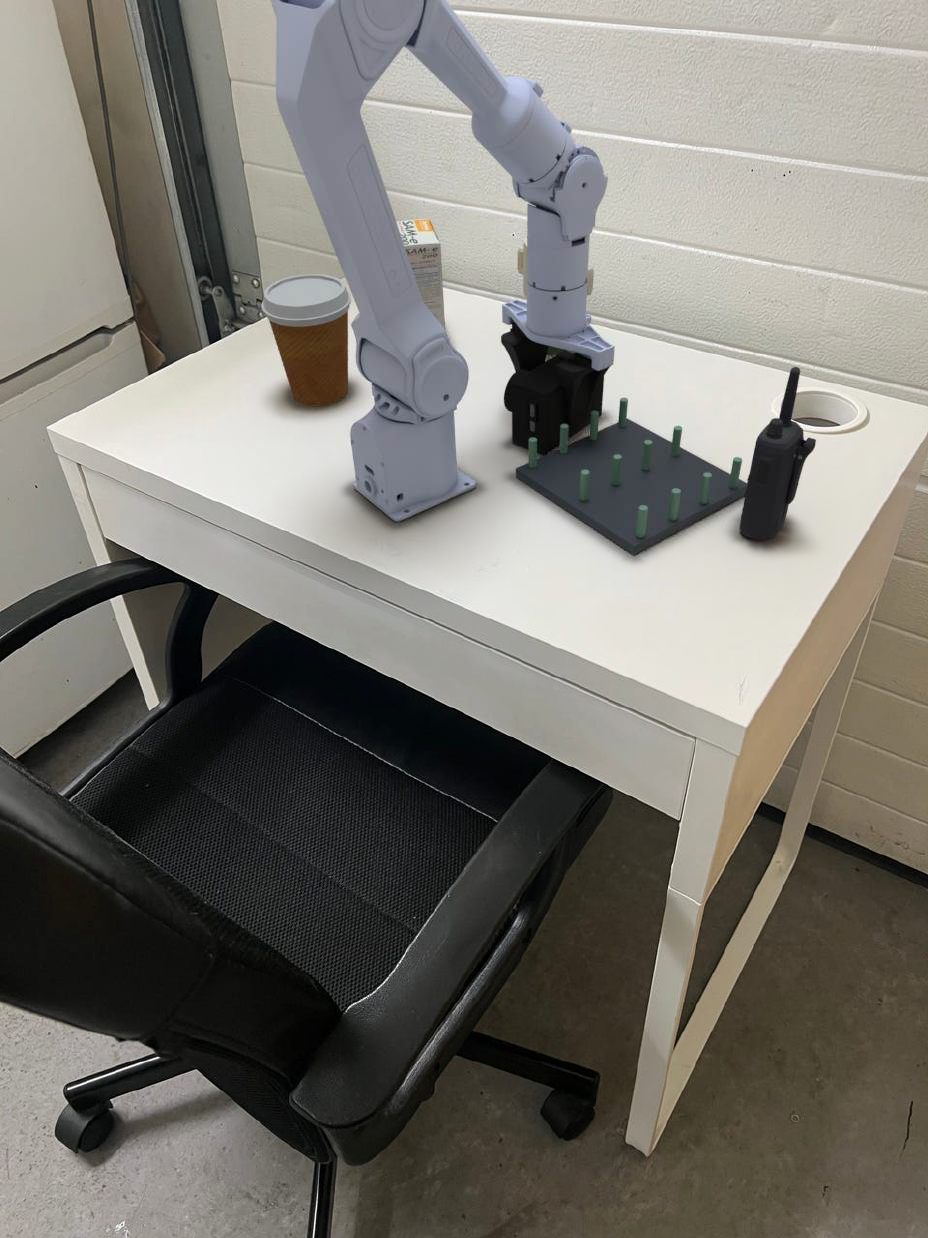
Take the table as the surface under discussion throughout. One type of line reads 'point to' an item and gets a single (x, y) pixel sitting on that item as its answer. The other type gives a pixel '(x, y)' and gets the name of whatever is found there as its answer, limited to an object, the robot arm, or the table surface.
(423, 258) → the supplement box
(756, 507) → the two-way radio
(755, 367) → the table surface
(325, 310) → the disposable coffee cup
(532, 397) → the digital camera
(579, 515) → the rack
